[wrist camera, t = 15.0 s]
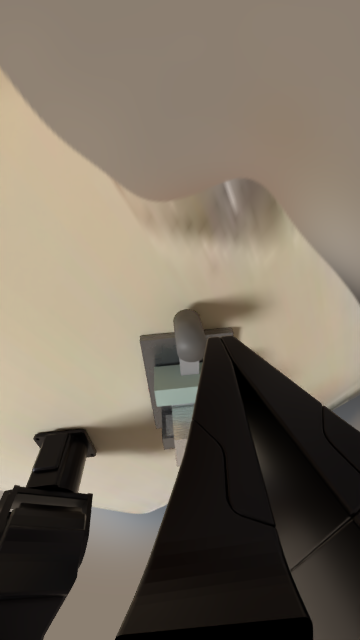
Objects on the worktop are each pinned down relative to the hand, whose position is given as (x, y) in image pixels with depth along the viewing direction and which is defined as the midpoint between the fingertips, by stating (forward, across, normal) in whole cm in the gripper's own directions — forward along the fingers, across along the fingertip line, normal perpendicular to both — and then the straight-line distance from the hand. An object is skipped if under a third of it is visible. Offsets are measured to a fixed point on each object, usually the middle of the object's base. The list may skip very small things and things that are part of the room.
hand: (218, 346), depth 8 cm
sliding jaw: (+11, 0, +10) cm, 15 cm away
